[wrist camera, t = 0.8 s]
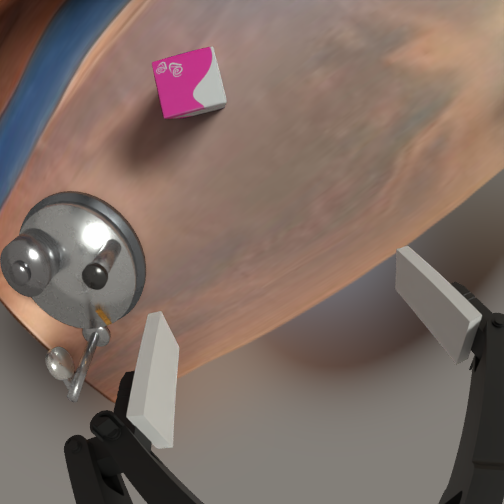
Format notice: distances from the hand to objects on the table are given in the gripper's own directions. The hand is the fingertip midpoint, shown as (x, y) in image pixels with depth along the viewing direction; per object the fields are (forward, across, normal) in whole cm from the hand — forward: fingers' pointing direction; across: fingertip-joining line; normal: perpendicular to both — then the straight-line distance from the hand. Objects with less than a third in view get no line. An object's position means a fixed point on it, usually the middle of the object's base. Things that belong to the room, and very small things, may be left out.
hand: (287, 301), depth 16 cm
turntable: (+25, -27, -4) cm, 37 cm away
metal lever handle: (+26, -31, -15) cm, 43 cm away
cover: (+23, -31, 0) cm, 38 cm away
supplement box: (+26, -3, +13) cm, 29 cm away
